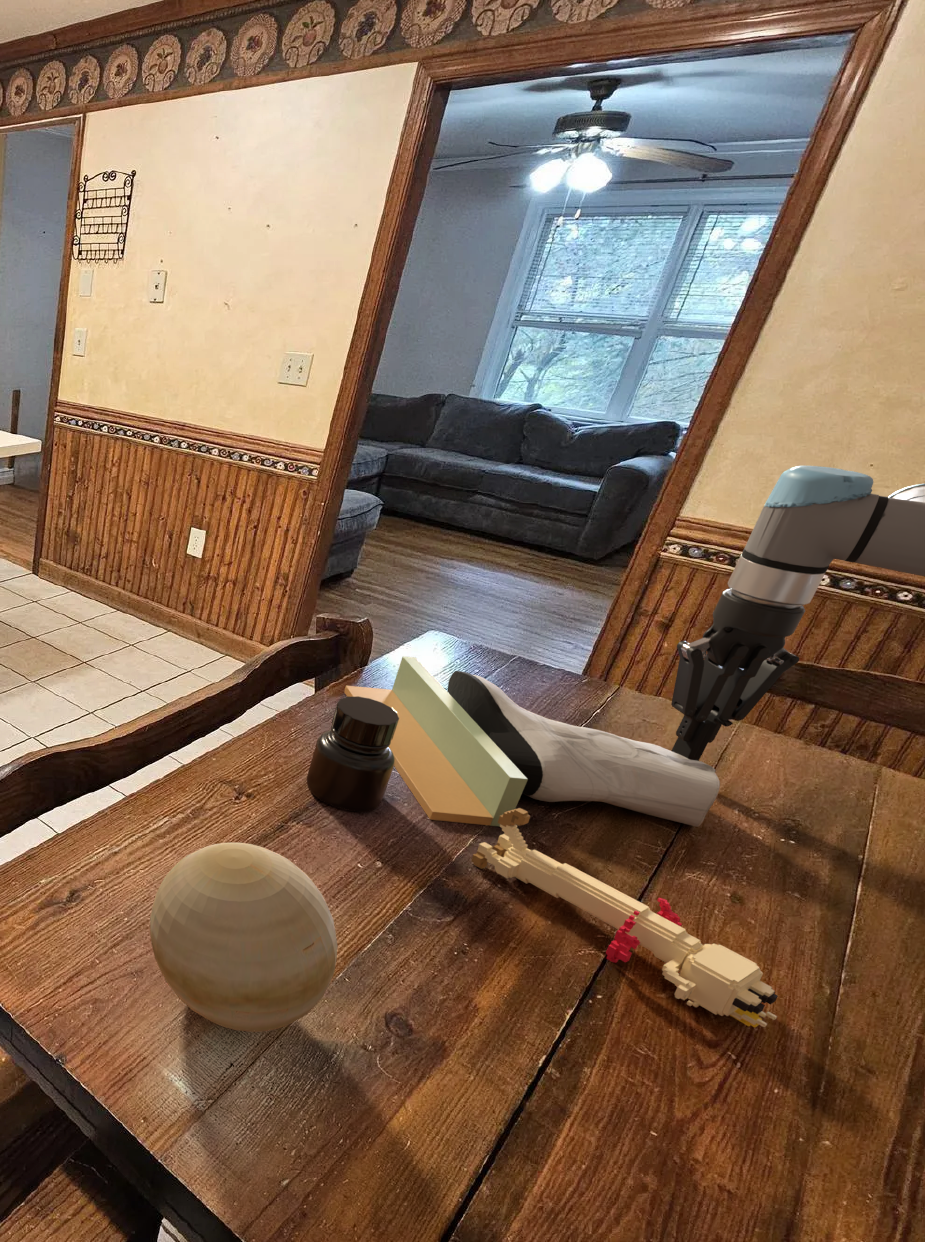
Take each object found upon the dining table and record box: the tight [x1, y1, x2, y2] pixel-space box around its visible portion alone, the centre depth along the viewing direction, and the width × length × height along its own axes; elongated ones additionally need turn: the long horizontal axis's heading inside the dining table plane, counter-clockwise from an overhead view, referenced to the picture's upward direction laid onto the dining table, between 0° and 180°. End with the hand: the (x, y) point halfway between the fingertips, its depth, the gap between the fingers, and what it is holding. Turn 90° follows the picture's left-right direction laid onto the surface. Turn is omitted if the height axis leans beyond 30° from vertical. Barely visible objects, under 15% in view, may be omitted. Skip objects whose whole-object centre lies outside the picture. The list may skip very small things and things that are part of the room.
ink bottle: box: [306, 696, 399, 813], centre depth 97 cm, size 10×9×12 cm
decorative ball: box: [149, 841, 338, 1033], centre depth 67 cm, size 15×15×15 cm
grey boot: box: [447, 670, 721, 828], centre depth 106 cm, size 10×28×25 cm
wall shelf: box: [343, 656, 528, 827], centre depth 108 cm, size 9×32×7 cm, turn 174°
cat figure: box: [470, 807, 779, 1029], centre depth 78 cm, size 10×9×25 cm
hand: (682, 760), depth 106 cm, fingers closed
